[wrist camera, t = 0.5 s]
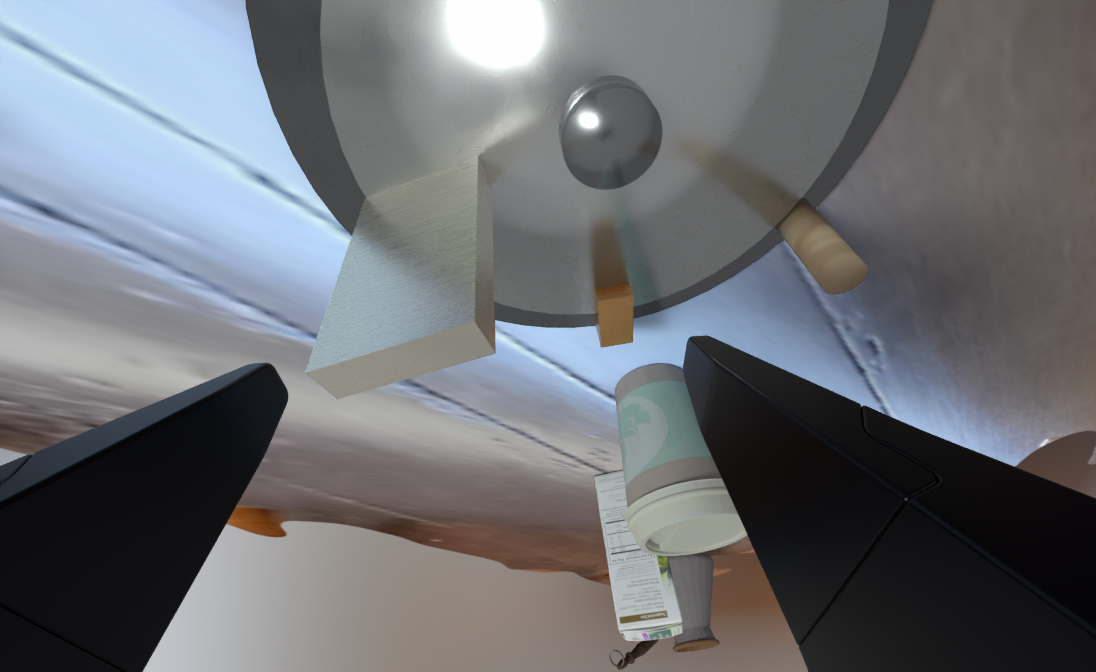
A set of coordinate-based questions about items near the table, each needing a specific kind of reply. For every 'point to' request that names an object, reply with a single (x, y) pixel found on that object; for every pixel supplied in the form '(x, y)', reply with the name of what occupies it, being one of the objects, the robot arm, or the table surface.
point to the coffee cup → (670, 468)
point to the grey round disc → (304, 117)
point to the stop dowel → (821, 249)
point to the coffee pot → (686, 606)
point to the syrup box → (635, 571)
